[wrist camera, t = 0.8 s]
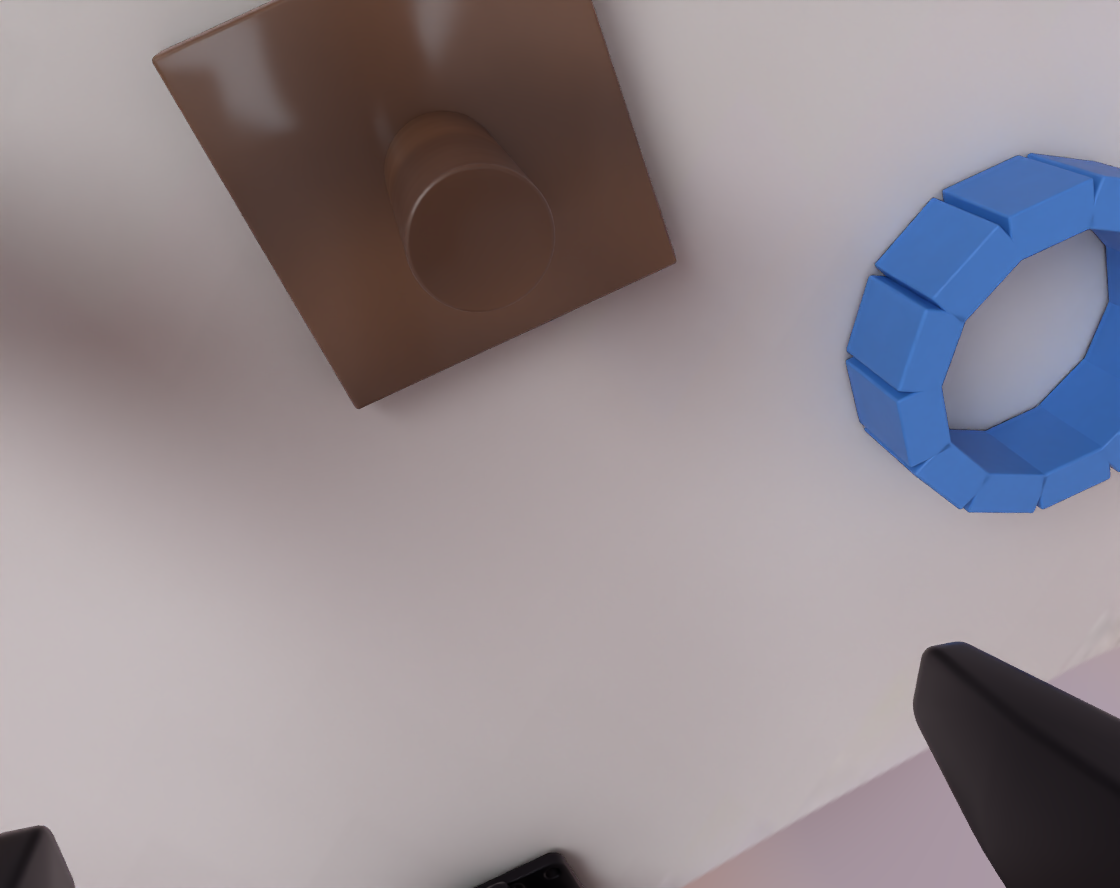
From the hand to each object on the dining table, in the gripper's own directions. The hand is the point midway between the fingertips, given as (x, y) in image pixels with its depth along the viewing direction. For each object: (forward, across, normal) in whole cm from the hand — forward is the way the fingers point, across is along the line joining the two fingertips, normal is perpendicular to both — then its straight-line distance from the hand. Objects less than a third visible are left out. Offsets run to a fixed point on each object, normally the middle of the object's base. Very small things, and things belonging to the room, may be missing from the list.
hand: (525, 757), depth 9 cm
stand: (+14, -1, -3) cm, 14 cm away
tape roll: (+14, -16, +2) cm, 21 cm away
